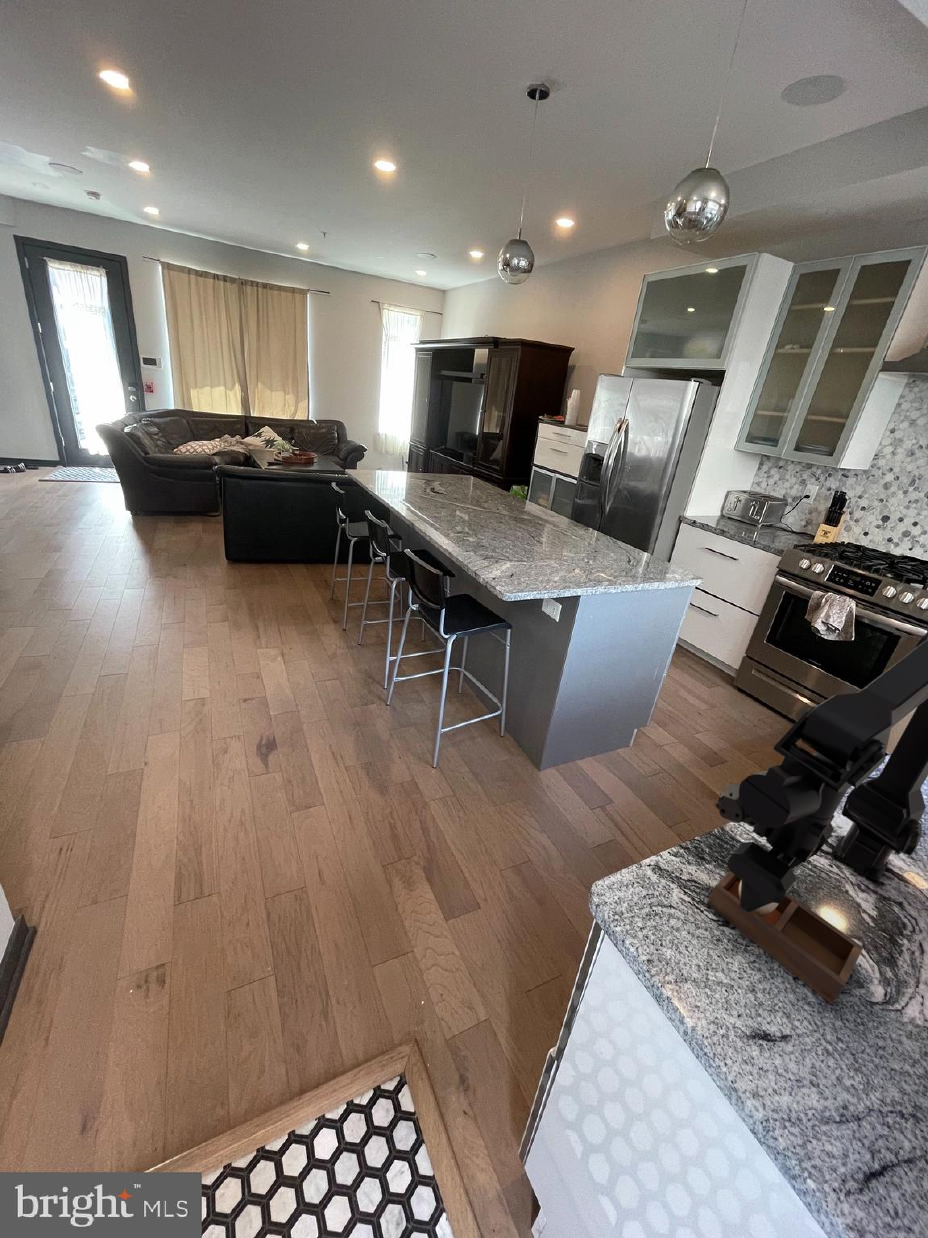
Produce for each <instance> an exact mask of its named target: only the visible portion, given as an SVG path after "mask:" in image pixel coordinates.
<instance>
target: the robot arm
mask: <svg viewBox="0 0 928 1238" xmlns="http://www.w3.org/2000/svg"><path fill="white" fill-rule="evenodd" d="M913 711H914V712H913ZM912 712H913V713H912ZM910 713H912V715H911V717H910V719H909V721H908V723H907V725H906V726H905V728H904V730H903V732H902V734H901V735H900V738H899V739H898V741H897V743H896V745H895V746H894V748H893V750H892V752H891V754H890V756H889V758H888V760H887V761H886V752H887V749H888V745H889V739H890V735H891V730H892V728H894V726H896V724H898V723H899V722H901V721H902V720H903V719H904V718H905V717H907V716H908V715H909V714H910ZM799 741H801V743H802V744H804V745H805V746H807V747H808V748H810V749H811V750H813V751H815V752H814V753H813V752H812V753H811V752H810V751H808V750H806V749H804V748H803V747H801V746H800V745H799V744H797V743H798V742H799ZM773 750H774V751H775V752H777V753H778V754H779V755H781V756H782V757H784V758H783V760H782V762H781V763H780V764H779V765H778V764H777V765H773V766H770V767H768V769H767V770H764V771H759V772H757V773H753V774H750V775H747V777H745V778H744V779H743V780H741V782H740V783H739V782H732V783H730V784H728V785H727V786H726V787H724V788H723V789H722V790H721V791H720V792H719V794H720V795H719V796H718V801H717V802H716V803H715V808H716V809H717V810H718V814H719V815H720V817H721V818H723V819H724V820H728V821H731V822H734V823H737V824H741V823H743V824H747V825H749V826H754V827H753V829H752V833H754V834H755V835H756V836H758V837H760V838H762V839H763V838H764V839H765V841H766V843H767V844H768V845H769V846H770V847H771V848H770V849H769V851H768V850H766V849H765V848H763V847H761V846H760V845H759V844H758V843H756V842H754V841H745V842H742V843H741V844H740V845H739V846H738V847H737V848H736V849H735V850H734V851H733V852H732V853H731V854H730V857H729V859H728V860H727V863H726V867H727V869H728V872H729V871H731V872H732V873H734V874H735V875H736V876H738V877H739V878H740V879H741V901H740V906H741V907H742V908H743V909H744V910H745V911H747V912H751V911H753V910H756V909H758V908H760V907H763V906H765V905H768V904H771V903H779V904H780V903H781V901H782V900H783V899H784V897H785V896H786V895H787V893H788V894H789V892H790V890H791V889H792V887H793V886H794V884H795V883H796V880H797V877H796V875H795V873H794V870H793V869H795V868H796V867H798V866H799V865H801V864H802V863H803V864H806V863H807V861H808V860H809V859H811V858H812V857H814V856H815V855H817V854H818V853H819V852H820V851H821V849H822V848H823V847H824V846H825V845H826V844H827V842H828V841H829V839H830V837H831V835H832V834H833V832H834V831H835V828H834V826H833V824H832V822H833V820H834V818H835V813H836V811H837V809H838V808H839V806H840V804H841V803H842V801H843V799H844V797H845V795H846V793H847V792H848V790H850V788H851V787H853V788H852V790H851V791H850V792H849V793H848V795H847V796H846V799H845V802H844V805H843V808H842V811H841V813H840V815H841V816H843V817H844V818H846V819H847V820H849V821H851V822H852V824H851V825H850V827H849V829H848V830H847V832H846V833H845V835H841V838H840V839H839V840H838V842H837V843H836V844H835V846H834V847H833V848H832V850H831V852H830V854H832V856H833V857H836V858H837V859H839V860H840V861H842V862H844V863H845V864H847V865H848V866H850V867H851V868H853V869H855V870H856V871H858V872H859V873H861V874H862V875H864V876H865V877H868V878H869V879H871V880H872V881H874V882H876V883H879V882H880V881H881V878H882V876H883V875H884V872H885V871H886V869H887V867H888V865H889V862H888V860H889V859H890V857H891V855H892V853H893V852H894V853H895V854H897V856H899V855H902V854H904V855H907V856H912V855H913V854H914V853H915V851H916V849H917V848H918V846H919V843H920V840H921V839H922V837H923V828H922V827H923V824H922V822H920V820H921V818H922V817H923V816H924V815H923V814H924V813H925V811H926V803H925V799H924V796H923V793H922V790H921V789H922V786H923V785H924V783H925V781H926V779H927V778H928V631H927V632H926V633H925V634H923V635H922V636H921V638H920V639H919V641H918V642H917V644H916V645H915V648H914V649H912V650H911V651H909V652H908V653H907V654H906V655H904V656H902V658H901V659H899V660H897V662H896V663H894V664H893V665H891V666H890V667H889V668H888V669H886V670H885V671H884V672H882V673H881V674H880V675H879V676H877V677H876V678H875V679H873V680H872V681H871V682H870V683H868V684H867V685H865V686H864V687H863V688H861V689H860V690H859V691H857V692H851V693H841V694H834V695H832V696H830V697H829V698H827V699H826V700H824V701H822V702H821V703H819V704H817V705H814V706H811V707H810V708H808V709H807V710H806V711H805V712H804V713H803V714H802V715H801V716H800V717H799V718H798V719H797V721H796V722H795V723H794V724H793V725H792V726H791V728H789V730H788V731H787V732H786V733H784V735H783V736H782V737H781V738H780V739H779V741H778V742H777V743H776V744H775V745H774V746H773ZM885 761H886V763H885V765H884V766H883V769H882V771H881V772H880V774H879V775H877V776H875V777H873V778H870V779H868V778H869V777H870V776H871V775H872V774H873V773H874V772H875V771H876V770H877V769H878V768H879V767H880V766H881V765H882V764H883V763H884V762H885Z"/></svg>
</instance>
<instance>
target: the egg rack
mask: <svg viewBox="0 0 928 1238" xmlns="http://www.w3.org/2000/svg"><path fill="white" fill-rule="evenodd" d="M740 882H741V879H740V878H739V877H738V876H736V875H735V874H734V873H732V872H731V871H729V870H728V872H727V873H726V874H725V875H724V876H723V877H722V878H721V879H720V880H719V881H718V882H717V883H716V884H715V885H714V888H713V889H712V892H711V894H710V896H709V897H708V900H707V902H706V905H707V906H709V908H711V909H712V910H714V911H715V912H716V913H717V914H718V915H720V916H721V917H722V918H723V919H725V920H726V921H727V922H728V923H729V924H731V925H732V926H733V927H734V928H736V929H737V930H738V931H740V932H741V933H742V934H743V935H744V936H746V937H747V938H748V939H749V940H751V941H752V942H753V943H754V944H755V945H757V946H758V947H759V948H760V949H761V950H763V951H765V953H767V954H768V955H769V956H771V957H772V958H773V959H774V960H775V961H777V962H778V963H780V965H782V967H784V968H785V969H786V970H788V971H789V972H790V973H792V975H794V976H795V977H796V978H797V979H799V980H800V981H801V982H802V983H804V984H805V985H806V986H807V987H809V988H810V989H811V990H813V992H815V993H816V994H817V995H818V996H820V997H821V998H822V999H823V1000H824V1001H826V1002H827V1003H829V1004H830V1005H833V1003H834V1002H835V1001H836V1000H837V998H838V997H839V995H840V994H841V992H842V991H843V989H844V988H845V986H846V985H847V982H848V980H849V978H850V976H851V974H852V972H853V970H854V968H855V966H856V964H857V962H858V960H859V957H860V956H861V954H862V951H863V949H864V947H863V946H862V945H861V944H860V943H858V942H857V941H855V940H854V939H853V938H851V937H850V936H848V935H847V934H846V933H844V932H843V931H841V930H840V929H839V928H837V927H836V926H834V925H833V924H831V923H830V922H829V921H828V920H825V919H824V918H823V917H822V916H821V915H819V914H818V913H816V912H814V911H813V910H812V909H811V908H810V907H807V906H806V905H805V904H804V903H802V902H800V901H799V900H798V899H796V898H795V897H793V896H792V895H790V894H789V892H788V893H787V895H786V896H785V897H784V899H783V900H782V901H781V903H780V904H778V906H777V907H776V908H775V909H774V910H773V911H772V912H771V913H769V914H766V915H758V914H757V913H755V912H754V911H751V912H747V911H745V910H744V909H743V908H742V907H741V906H740V898H739V885H740Z"/></svg>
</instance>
